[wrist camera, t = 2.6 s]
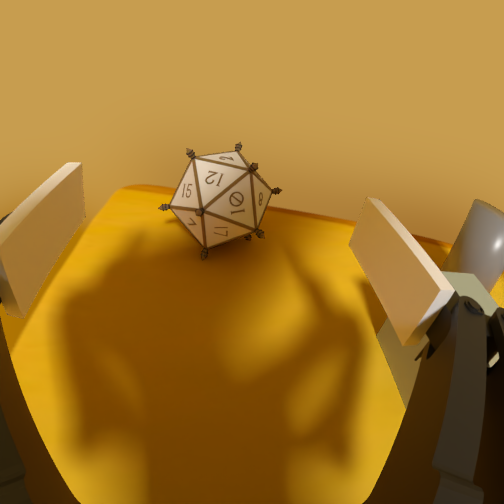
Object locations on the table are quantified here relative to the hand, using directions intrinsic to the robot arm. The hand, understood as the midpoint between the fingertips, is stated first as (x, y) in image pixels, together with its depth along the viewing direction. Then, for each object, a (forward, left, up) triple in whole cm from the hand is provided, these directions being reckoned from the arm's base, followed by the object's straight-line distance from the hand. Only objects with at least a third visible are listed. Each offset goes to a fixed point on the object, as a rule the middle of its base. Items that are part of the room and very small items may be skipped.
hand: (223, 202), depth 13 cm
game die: (+10, 0, -9) cm, 13 cm away
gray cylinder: (+5, -24, -8) cm, 26 cm away
